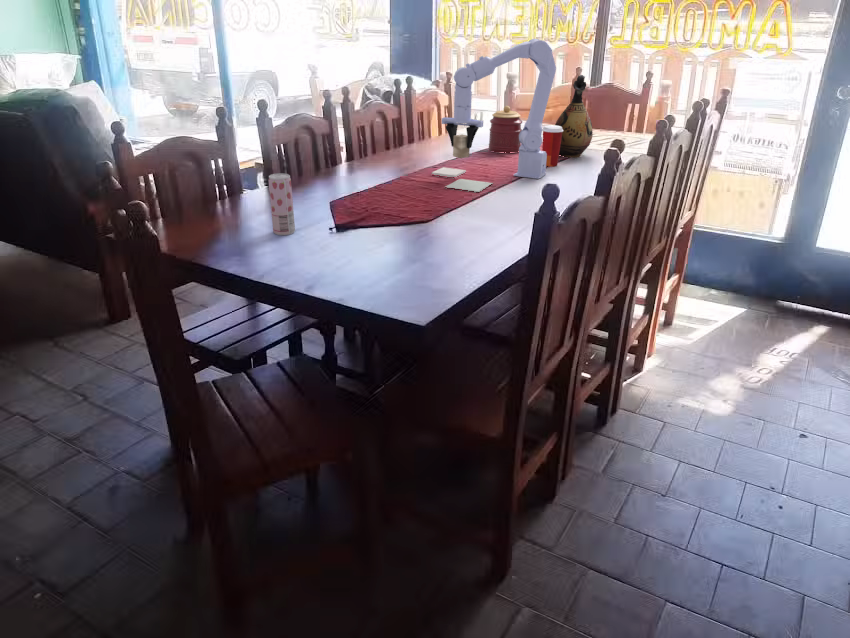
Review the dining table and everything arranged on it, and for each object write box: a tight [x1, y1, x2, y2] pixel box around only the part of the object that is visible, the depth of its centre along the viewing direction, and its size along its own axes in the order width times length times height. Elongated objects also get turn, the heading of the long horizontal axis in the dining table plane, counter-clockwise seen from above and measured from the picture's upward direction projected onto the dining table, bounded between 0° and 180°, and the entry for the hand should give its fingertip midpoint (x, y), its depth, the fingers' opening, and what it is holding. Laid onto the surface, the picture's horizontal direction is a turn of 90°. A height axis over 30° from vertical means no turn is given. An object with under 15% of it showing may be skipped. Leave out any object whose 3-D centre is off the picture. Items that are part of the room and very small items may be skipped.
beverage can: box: [268, 172, 296, 236], centre depth 172 cm, size 6×6×15 cm
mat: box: [444, 178, 494, 193], centre depth 219 cm, size 12×12×1 cm
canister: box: [488, 105, 523, 153], centre depth 267 cm, size 13×13×18 cm
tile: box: [431, 166, 467, 178], centre depth 234 cm, size 2×9×9 cm
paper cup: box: [541, 124, 563, 168], centre depth 245 cm, size 8×8×14 cm
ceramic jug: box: [554, 74, 594, 159], centre depth 258 cm, size 17×15×30 cm
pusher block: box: [452, 134, 471, 159], centre depth 228 cm, size 4×4×7 cm
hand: (461, 147), depth 228 cm, fingers closed on pusher block, 5 cm apart
